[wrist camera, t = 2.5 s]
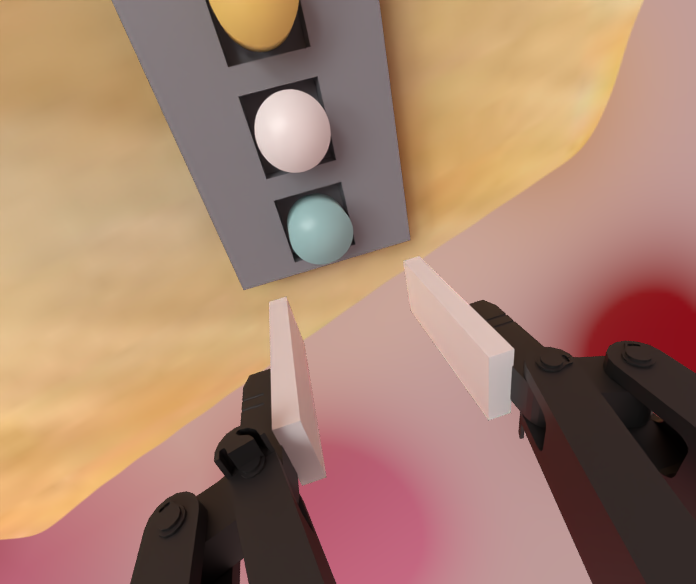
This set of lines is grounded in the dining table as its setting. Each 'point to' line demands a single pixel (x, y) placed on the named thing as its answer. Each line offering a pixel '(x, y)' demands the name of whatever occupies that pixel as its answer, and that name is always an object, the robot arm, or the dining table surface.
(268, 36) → the button ochre
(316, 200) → the button teal
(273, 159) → the button white
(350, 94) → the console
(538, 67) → the dining table surface
